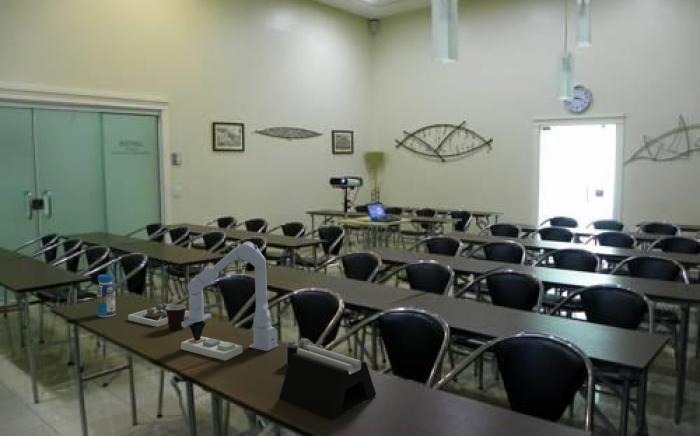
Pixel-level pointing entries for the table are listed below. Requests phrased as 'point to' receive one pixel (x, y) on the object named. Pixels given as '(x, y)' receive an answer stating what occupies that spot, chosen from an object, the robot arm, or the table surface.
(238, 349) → the keypad
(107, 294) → the beverage bottle
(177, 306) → the coffee mug
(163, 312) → the molecule model
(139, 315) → the display tray
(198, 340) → the terracotta key
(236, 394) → the table surface
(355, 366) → the device stand
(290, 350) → the camera
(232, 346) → the sage key
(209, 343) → the slate key
